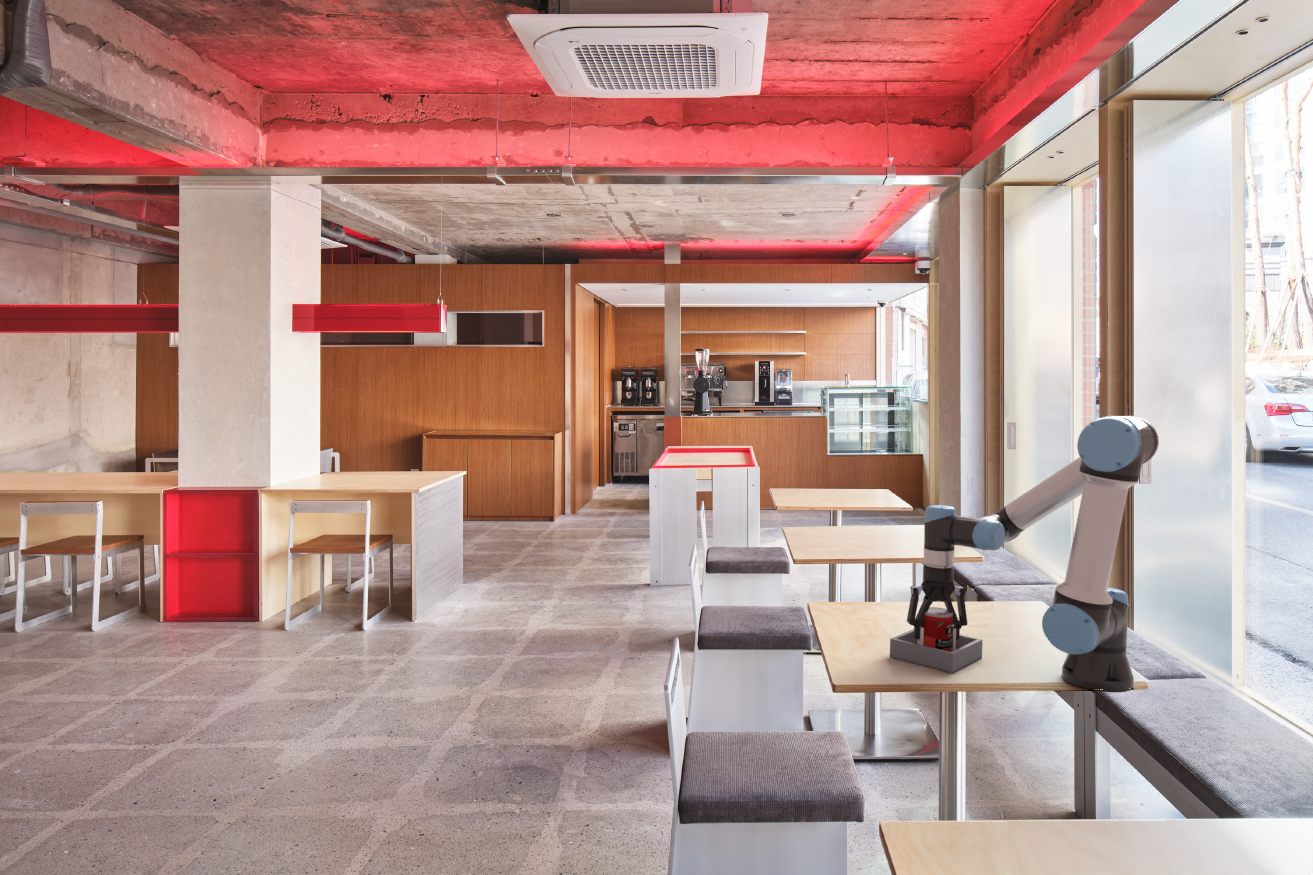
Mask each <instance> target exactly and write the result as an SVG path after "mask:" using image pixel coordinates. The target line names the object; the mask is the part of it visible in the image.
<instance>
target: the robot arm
mask: <svg viewBox="0 0 1313 875" xmlns="http://www.w3.org/2000/svg"><path fill="white" fill-rule="evenodd" d="M1158 434H1159V433H1158V432H1157V430H1156V429H1155V427H1154V425H1152V424H1151V422H1149V421H1148V420H1146V419H1145V418H1142V417H1139V416H1135V415H1122V416H1121V415H1106V416H1102V417H1100V418H1097V419H1095V420H1093V421H1091V422H1089V424H1087V425H1085V426H1084V428H1082V431H1080V434H1079V435H1078V437H1077V438H1078V440H1077V447H1076V449H1077V452H1078V455H1079V457H1078V458H1076V459H1074V460H1073V461H1071V462H1069V463H1068V464H1067V465H1066V466H1064V467H1062V468H1061V469H1059V470H1058V471H1056V472H1055V473H1053V474H1052V475H1050V476H1049V477H1047V478H1045V479H1044V480H1042V481H1041V482H1039V483H1038V484H1036V485H1035V486H1033V487H1032V488H1031V489H1029V490H1027V491H1025V493H1023V494H1021V495H1020V496H1018V497H1017V498H1015V499H1014V500H1012V501H1011V502H1010V503H1008V504H1006V505H1005V506H1004V507H1002V508H1000V509H999V510H997V511H995V512H994V513H992V514H987V515H983V516H978V517H970V516H962V515H958V514H957V511H956V508H955V507H954V506H951V505H944V504H931V505H928V506H927V507H926V508H925V512H924V521H923V524H924V530H923V531H924V532H923V533H924V534H923V535H924V538H923V539H924V540H923V544H924V545H923V563H924V565H923V568H922V582H921V585H916V586H914V585H911V586H910V593H911V594H910V595H911V596H910V601H909V606H908V610H907V611H908V612H907V617H906V622H907V623H908V624H909V625H910V626H913V629H914V638H915V639H917V644H919V645H923V641H924V628H923V627H922V626H921V625H922V623H923V621H924V618H925V612H928V610H929V607H931V605H933V602H943V603H944V606H945V609H947V610H948V611H949V612H950V613H951V612H953V632H952V651H954V650H956V640H959V635H961V634H960V631H961V630H960V629H962V627H965V626H966V627H967V625H968V617H967V609H966V602H965V601H966V600H965V596H966V588H964V587H962V585H959V586H956V585H955V583H954V576H955V567H953V566H955V546H961V547H967V548H973V549H979V550H982V551H994V552H995V551H998V550H1000V548H1001V547H1002V546H1003V544H1004V543H1007V542H1011V541H1013V540H1015V539H1016V538H1018V537H1019V536H1020V535H1021V533H1023V532H1024V531H1025V530H1026V529H1028V528H1030V527H1031V526H1034V525H1035V524H1036V523H1038V522H1040V521H1041V520H1042V519H1043V520H1044V519H1045V518H1046V517H1047V516H1049V515H1051V514H1052V513H1054V512H1056V511H1058V510H1059V509H1061V508H1062V507H1064V506H1065V505H1067V504H1069V503H1071V502H1072V501H1074V500H1075V499H1077V498H1078V497H1080V496H1081V499H1080V504H1079V509H1078V514H1077V518H1076V524H1075V530H1074V533H1073V538H1072V542H1071V548H1070V553H1069V558H1068V559H1069V560H1068V564H1067V568H1066V573H1065V578H1064V581H1063V582H1061V583H1059V584H1057V585H1056V587H1055V590H1054V594H1053V600H1052V605H1051V606H1050V607H1047V609H1046V611H1045V612H1044V614H1043V616H1042V620H1041V626H1042V631H1043V633H1044V636H1045V637H1046V639H1047V640H1048V641H1049V643H1050V644H1051V645H1052V646H1053V647H1055V649H1057V650H1059V651H1060V652H1062V653H1065V654H1067V655H1066V658H1065V660H1064V661H1063V664H1062V667H1061V668H1062V669H1061V671H1062V672H1061V677H1062V679H1063V680H1065V681H1066V682H1068V683H1070V684H1071V685H1074V686H1077V687H1080V688H1082V689H1086V690H1090V689H1097V690H1094V691H1097V692H1104V693H1126V692H1129V691H1131V690H1133V689H1134V681H1135V679H1134V674H1133V671H1132V668H1131V665H1130V661H1129V659H1128V657H1127V646H1128V645H1127V641H1128V622H1129V620H1128V618H1129V608H1130V604H1129V595H1128V593H1127V592H1125V591H1124V590H1122V589H1118V588H1114V587H1109V583H1110V582H1109V581H1110V578H1111V573H1112V570H1113V564H1114V560H1115V555H1116V550H1117V547H1118V546H1117V545H1118V540H1119V535H1120V530H1121V527H1122V526H1121V525H1122V522H1123V517H1124V512H1125V508H1126V503H1127V498H1128V494H1129V489H1130V488H1131V487H1133V486H1135V485H1136V484H1138V483H1139V481H1140V474H1141V471H1142V466H1143V465H1144V464H1146V463H1148V462H1149V461H1150V460H1151V459H1152V458H1153V457H1154V456H1155V454H1156V453H1157V451H1158V448H1159V445H1160V444H1159V443H1160V442H1159V436H1158ZM922 592H923V593H924V597H923V599H922V603H921V605H920V607H919V609H918V605H919V600H920V599H919V598H920V595H921V593H922ZM953 592H954V594H955V596H956V597H955V598H956V604H957V605H956V606H957V613H958V616H957V613H956V610H955V608H954V605H953V602H952V599H951V596H952V594H953ZM917 610H918V611H917ZM1129 688H1133V689H1129ZM1098 689H1099V690H1098ZM1100 689H1103V690H1100Z"/></svg>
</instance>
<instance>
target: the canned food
mask: <svg viewBox="0 0 1313 875" xmlns="http://www.w3.org/2000/svg"><path fill="white" fill-rule="evenodd" d="M921 626H922V627H923V628H924V641H923V646H928V647H932V648H936V649H940V650H944V651H948V652H952V632H953V612H951V613H950V612H949V611H948V610H947V608H943V607H937V606H930V607H929V610H928V612H925V618H924V621H923V623H922V625H921Z"/></svg>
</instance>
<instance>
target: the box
mask: <svg viewBox="0 0 1313 875" xmlns="http://www.w3.org/2000/svg"><path fill="white" fill-rule="evenodd" d="M889 642H890V643H889V658H890V659H894V660H897V661H898V660H899V661H902V662H906V663H908V664H913V665H916V664H918V665H917V666H920V665H921V667H925V668H928V669H932V670H935V671H940V672H944V673H947V674H951V675H954V674H955V673H957V672H959V671H961V670H962V669H965V668H967V667H968V666H970V665H973V664H974V663H977V662H978V661H980V660H982V659H983V639H981V638H977V637H973V636H968V635H964V634H960V635H959V640H956V650H954V651H952V652H948V651H944V650H940V649H936V648H932V647H928V646H923V645H919V644H917V639H915V638H914V628H913V629H910V630H908V631H905V632H903V633H901V634H899V635H896V636H893V637H891V638H890V639H889Z"/></svg>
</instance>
